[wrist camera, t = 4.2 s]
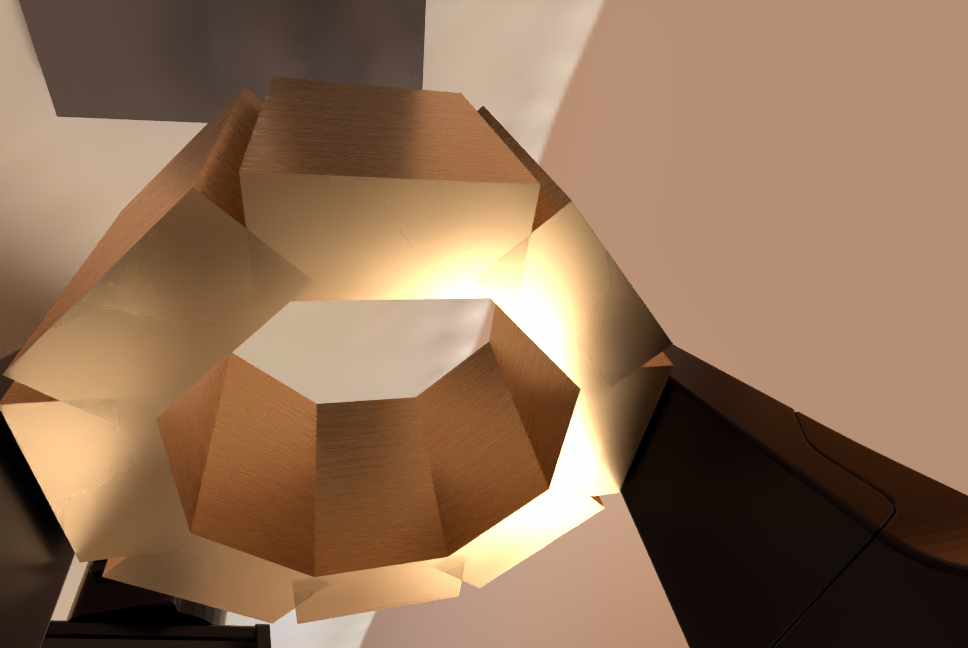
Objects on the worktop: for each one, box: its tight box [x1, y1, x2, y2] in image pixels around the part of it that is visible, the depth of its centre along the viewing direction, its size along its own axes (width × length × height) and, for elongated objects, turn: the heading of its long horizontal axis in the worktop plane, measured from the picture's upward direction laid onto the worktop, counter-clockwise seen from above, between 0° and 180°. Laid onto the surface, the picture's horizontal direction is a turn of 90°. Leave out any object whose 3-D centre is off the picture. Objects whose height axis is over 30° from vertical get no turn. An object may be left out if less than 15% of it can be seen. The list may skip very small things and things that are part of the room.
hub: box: [0, 76, 674, 624], centre depth 8 cm, size 7×7×4 cm
